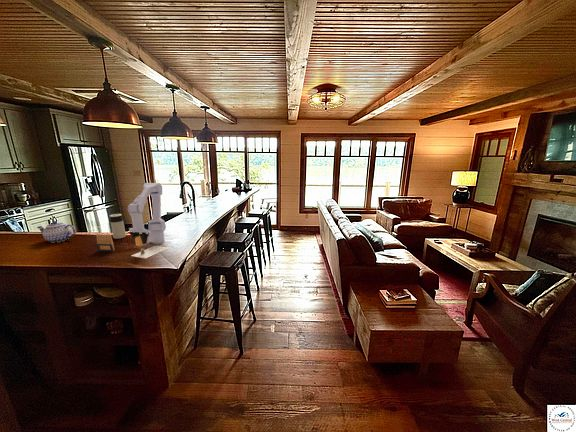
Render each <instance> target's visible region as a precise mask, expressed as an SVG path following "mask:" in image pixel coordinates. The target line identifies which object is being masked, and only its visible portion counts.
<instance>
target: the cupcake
mask: <svg viewBox="0 0 576 432" xmlns="http://www.w3.org/2000/svg"><path fill="white" fill-rule="evenodd" d="M134 242H136V243H135V245H136V246H137V247H142V246H145V245H147V243H148V242H147V243H146V244H143V243H142V239H141V237H140V236H136V237H135V241H134Z"/></svg>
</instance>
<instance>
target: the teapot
mask: <svg viewBox="0 0 576 432" xmlns="http://www.w3.org/2000/svg"><path fill="white" fill-rule="evenodd" d="M36 228H37V229H38V230H39V231H40V233H41V235H42V236H43V239H44V240H45V241H47V242H51V244H53V243H54V244H55V242H57V243H61V241H62V242H65V240H66V241H68V240H69V239H70V238H71V237H73V236H75V235H76V233H77V230H76V227H75V226H74V225H72V224H66V223H65V222H58V221H57V220H54V221H52V223H50V224H47V225H45V227H43V226H41V225H39V226H37V227H36ZM72 230H73V233H72ZM67 239H68V240H67Z"/></svg>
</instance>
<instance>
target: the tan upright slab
mask: <svg viewBox="0 0 576 432" xmlns="http://www.w3.org/2000/svg"><path fill="white" fill-rule="evenodd" d="M112 237H113V236H112V235H111V234H108V233H107V234H105V233H104V234H102V233H99V234H98V233H96V247H97V251H98V252H111V253H112V252H115V251H116V247H115V243H114V242H113V238H112Z"/></svg>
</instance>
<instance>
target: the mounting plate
mask: <svg viewBox="0 0 576 432" xmlns="http://www.w3.org/2000/svg"><path fill="white" fill-rule="evenodd" d="M167 249H168V247H167V246H160V245H153V246H151V247H148V248H146V249H145V248H140V251H139V252H137V253H134V254H131V257H136V258H140V259H148V258H149V257H151V256H154V255H157V254H159V253H161V252H163V251H165V250H167Z"/></svg>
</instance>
